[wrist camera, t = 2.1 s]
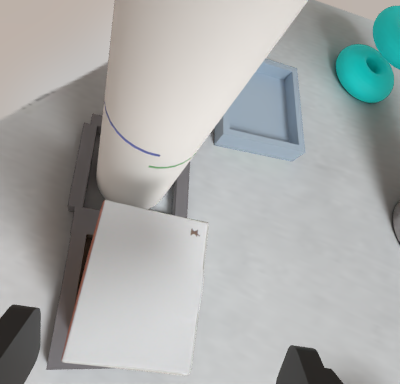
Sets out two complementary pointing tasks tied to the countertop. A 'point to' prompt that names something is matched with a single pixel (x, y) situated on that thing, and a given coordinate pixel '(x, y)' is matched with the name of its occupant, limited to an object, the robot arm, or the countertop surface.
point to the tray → (265, 115)
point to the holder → (84, 229)
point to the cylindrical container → (176, 84)
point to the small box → (139, 292)
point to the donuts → (372, 60)
